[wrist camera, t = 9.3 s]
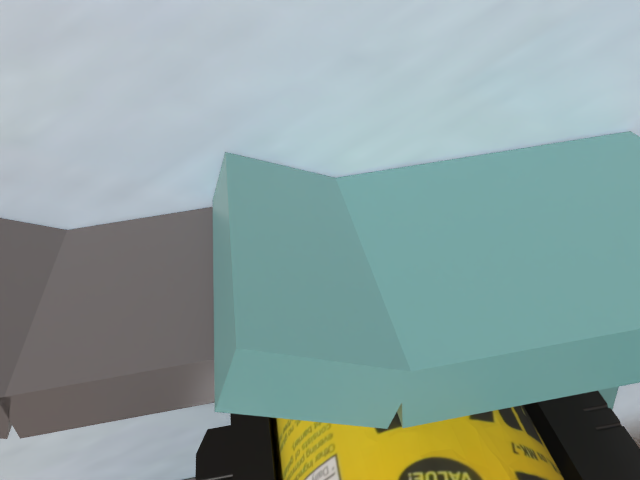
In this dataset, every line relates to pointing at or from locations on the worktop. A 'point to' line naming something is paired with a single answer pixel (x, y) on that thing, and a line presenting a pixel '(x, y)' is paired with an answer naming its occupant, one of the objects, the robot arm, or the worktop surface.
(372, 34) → the worktop surface
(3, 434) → the pair of grey blocks
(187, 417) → the worktop surface
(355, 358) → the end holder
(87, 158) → the worktop surface
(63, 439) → the worktop surface
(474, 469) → the supplement bottle
